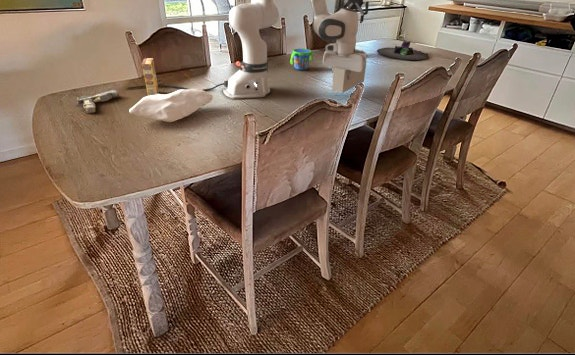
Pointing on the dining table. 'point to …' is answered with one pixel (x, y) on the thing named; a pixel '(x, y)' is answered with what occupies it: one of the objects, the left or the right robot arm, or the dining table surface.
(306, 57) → the snack cup
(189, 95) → the crumpled cloth
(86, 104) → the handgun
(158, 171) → the dining table surface
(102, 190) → the dining table surface
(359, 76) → the box
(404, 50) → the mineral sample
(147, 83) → the candy box
